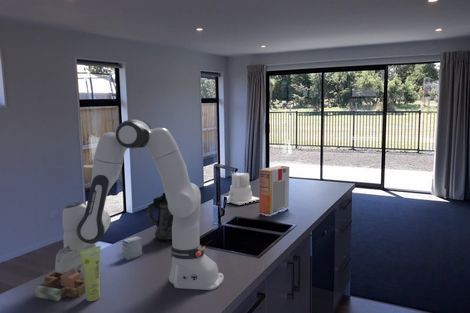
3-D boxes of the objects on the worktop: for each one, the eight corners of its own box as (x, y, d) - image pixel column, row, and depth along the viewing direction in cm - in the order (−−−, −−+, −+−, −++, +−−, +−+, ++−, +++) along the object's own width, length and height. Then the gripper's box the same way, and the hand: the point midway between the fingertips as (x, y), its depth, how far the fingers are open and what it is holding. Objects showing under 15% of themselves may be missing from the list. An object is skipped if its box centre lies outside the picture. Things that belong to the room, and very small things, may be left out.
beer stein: (192, 237, 211) (191, 192, 208) (167, 247, 195) (166, 199, 192) (170, 231, 220) (169, 188, 217) (144, 241, 204) (142, 194, 201)
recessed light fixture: (243, 196, 307) (243, 169, 305) (262, 201, 291) (262, 173, 288) (218, 201, 291) (218, 173, 289) (237, 207, 275) (237, 177, 272)
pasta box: (278, 207, 273) (279, 165, 269) (288, 209, 267) (289, 166, 264) (259, 214, 255) (259, 169, 251) (269, 217, 250) (270, 171, 246)
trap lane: (108, 276, 162) (108, 267, 162) (69, 303, 140) (69, 292, 140) (68, 270, 168) (67, 261, 168) (24, 294, 146) (23, 284, 146)
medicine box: (136, 253, 188) (136, 235, 187) (142, 255, 185) (142, 237, 184) (122, 258, 182) (122, 240, 181) (128, 260, 179) (128, 242, 178)
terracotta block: (80, 282, 157) (79, 272, 156) (71, 287, 152) (70, 278, 151) (70, 280, 158) (69, 271, 158) (60, 285, 154) (60, 276, 153)
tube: (95, 303, 140) (92, 251, 138) (82, 301, 141) (79, 250, 138) (102, 295, 146) (100, 245, 143) (90, 294, 146) (87, 244, 144)
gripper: (63, 252, 146) (65, 287, 148) (98, 235, 166) (99, 266, 167) (49, 250, 148) (52, 285, 150) (85, 234, 167) (87, 264, 169)
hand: (77, 275), depth 159 cm, fingers closed
